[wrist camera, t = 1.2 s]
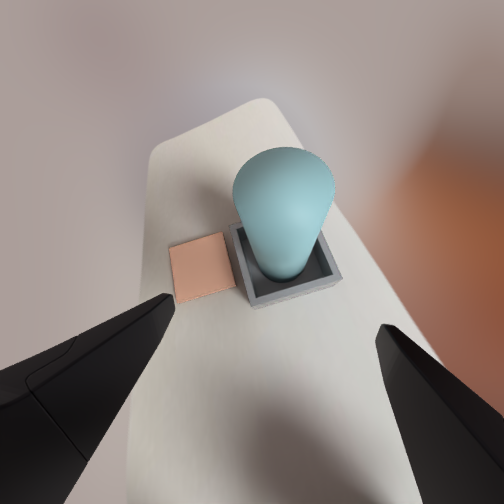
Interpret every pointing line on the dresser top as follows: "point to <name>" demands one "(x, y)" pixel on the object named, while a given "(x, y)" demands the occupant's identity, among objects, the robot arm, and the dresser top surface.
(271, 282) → the slate tray
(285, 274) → the teal post
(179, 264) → the terracotta coaster
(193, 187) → the dresser top surface
